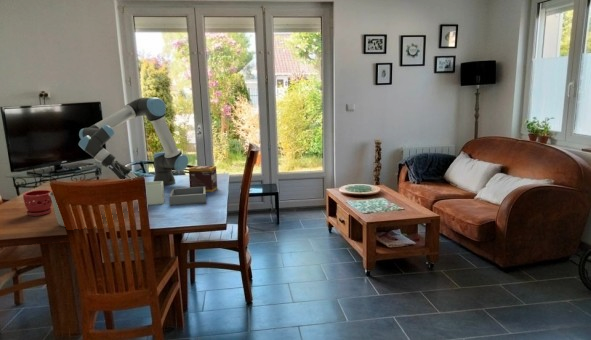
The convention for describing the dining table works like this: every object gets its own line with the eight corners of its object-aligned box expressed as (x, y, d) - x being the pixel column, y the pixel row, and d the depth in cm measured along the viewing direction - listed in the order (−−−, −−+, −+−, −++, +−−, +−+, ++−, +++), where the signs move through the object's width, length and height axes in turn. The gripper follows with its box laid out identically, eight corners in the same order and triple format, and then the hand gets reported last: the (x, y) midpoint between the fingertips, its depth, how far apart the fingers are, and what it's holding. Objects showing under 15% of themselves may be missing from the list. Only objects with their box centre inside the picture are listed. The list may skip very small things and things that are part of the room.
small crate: (145, 200, 235) (143, 182, 233) (164, 199, 238) (163, 180, 235) (142, 205, 225) (140, 186, 222) (162, 204, 227) (161, 184, 225)
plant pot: (22, 218, 205) (18, 196, 202) (31, 211, 217) (28, 190, 215) (50, 215, 208) (47, 194, 206) (57, 209, 221) (54, 188, 218)
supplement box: (212, 192, 254) (210, 168, 251) (189, 191, 256) (188, 168, 254) (217, 188, 264) (216, 165, 261) (196, 188, 266) (194, 165, 264)
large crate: (172, 197, 242) (172, 188, 241) (205, 195, 246) (205, 186, 245) (170, 205, 223) (169, 196, 222) (206, 203, 227) (205, 193, 226)
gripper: (106, 159, 232) (135, 182, 238) (94, 166, 208) (127, 192, 214) (114, 150, 232) (143, 173, 238) (104, 156, 208) (136, 181, 214)
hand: (136, 182), depth 226 cm, fingers open, 13 cm apart
